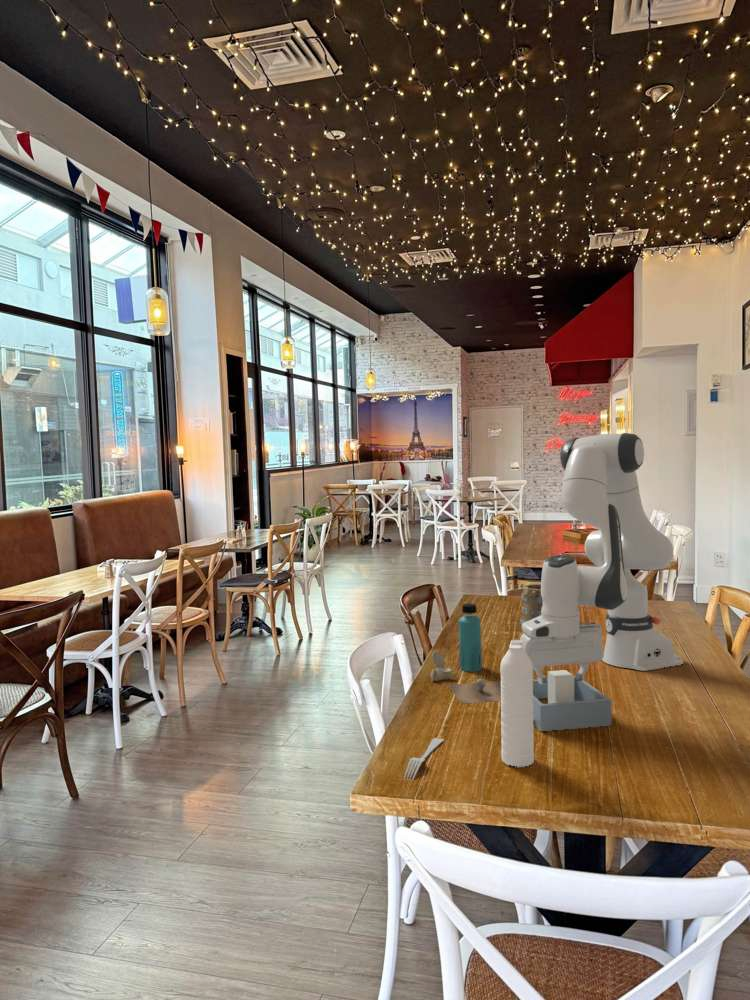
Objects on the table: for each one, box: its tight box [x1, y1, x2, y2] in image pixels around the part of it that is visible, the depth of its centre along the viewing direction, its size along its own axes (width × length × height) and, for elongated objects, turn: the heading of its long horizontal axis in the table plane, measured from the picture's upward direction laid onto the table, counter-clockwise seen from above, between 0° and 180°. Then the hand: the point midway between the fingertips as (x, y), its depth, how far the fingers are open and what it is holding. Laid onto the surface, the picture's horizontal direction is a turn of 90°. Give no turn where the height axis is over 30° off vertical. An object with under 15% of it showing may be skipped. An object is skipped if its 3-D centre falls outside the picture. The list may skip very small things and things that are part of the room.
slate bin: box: [533, 675, 612, 732], centre depth 162 cm, size 17×17×6 cm
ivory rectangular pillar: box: [547, 669, 575, 704], centre depth 162 cm, size 5×5×9 cm
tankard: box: [519, 583, 543, 626], centre depth 242 cm, size 20×13×15 cm, turn 144°
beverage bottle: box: [458, 603, 483, 673], centre depth 193 cm, size 6×7×20 cm
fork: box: [403, 737, 445, 781], centre depth 141 cm, size 3×21×3 cm, turn 157°
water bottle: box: [499, 639, 535, 768], centre depth 137 cm, size 9×6×25 cm
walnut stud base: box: [447, 678, 501, 705], centre depth 175 cm, size 14×14×5 cm
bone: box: [430, 650, 455, 682], centre depth 187 cm, size 9×6×10 cm
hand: (561, 681), depth 162 cm, fingers open, 8 cm apart
